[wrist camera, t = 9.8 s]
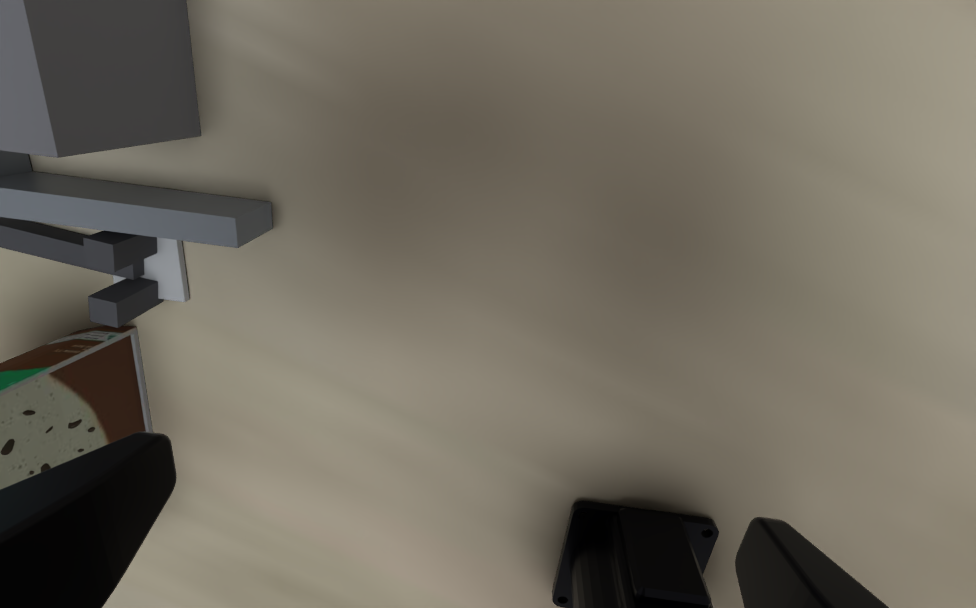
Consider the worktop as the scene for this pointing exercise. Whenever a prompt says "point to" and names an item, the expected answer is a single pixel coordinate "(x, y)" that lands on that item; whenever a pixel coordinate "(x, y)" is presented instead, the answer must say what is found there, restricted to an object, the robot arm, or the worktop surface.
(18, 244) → the clip
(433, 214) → the worktop surface
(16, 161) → the holder
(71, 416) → the food container
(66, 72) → the block
